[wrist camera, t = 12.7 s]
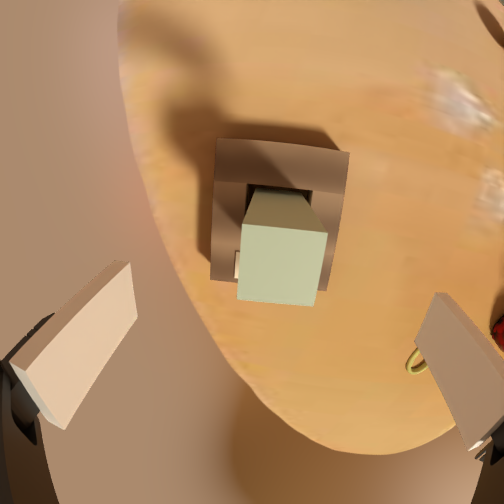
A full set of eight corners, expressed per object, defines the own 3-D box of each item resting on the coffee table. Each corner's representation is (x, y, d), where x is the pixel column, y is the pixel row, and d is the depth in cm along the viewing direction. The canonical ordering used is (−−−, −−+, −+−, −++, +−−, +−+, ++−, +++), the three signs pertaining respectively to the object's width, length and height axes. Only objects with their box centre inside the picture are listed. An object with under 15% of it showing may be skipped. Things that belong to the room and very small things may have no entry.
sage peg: (256, 187, 27) (242, 223, 14) (300, 192, 27) (327, 232, 14) (252, 230, 29) (236, 299, 16) (295, 234, 29) (313, 306, 16)
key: (452, 365, 35) (457, 372, 33) (400, 370, 36) (404, 379, 34) (470, 333, 33) (475, 340, 31) (418, 335, 33) (423, 344, 31)
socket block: (222, 139, 25) (215, 137, 22) (341, 152, 25) (350, 152, 22) (215, 267, 31) (209, 281, 27) (321, 278, 30) (326, 292, 27)
